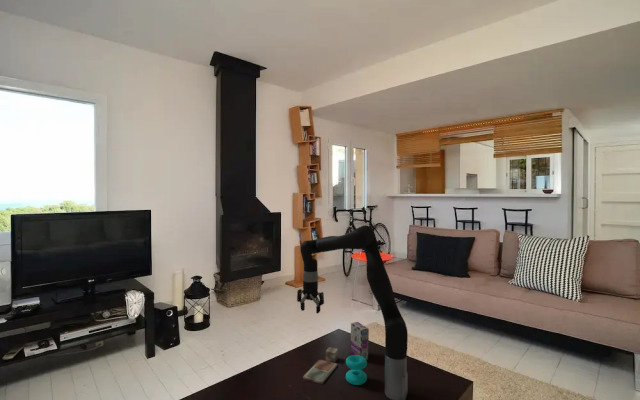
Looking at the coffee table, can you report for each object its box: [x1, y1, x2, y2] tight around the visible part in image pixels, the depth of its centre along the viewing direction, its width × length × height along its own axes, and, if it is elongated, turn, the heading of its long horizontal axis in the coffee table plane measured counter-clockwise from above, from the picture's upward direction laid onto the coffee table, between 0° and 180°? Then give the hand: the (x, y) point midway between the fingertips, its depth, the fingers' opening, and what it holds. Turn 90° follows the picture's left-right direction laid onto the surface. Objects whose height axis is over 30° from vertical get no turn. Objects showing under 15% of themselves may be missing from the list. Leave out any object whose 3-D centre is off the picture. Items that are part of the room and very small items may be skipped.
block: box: [325, 346, 339, 363], centre depth 169 cm, size 5×5×5 cm
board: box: [302, 359, 338, 385], centre depth 156 cm, size 10×18×1 cm, turn 155°
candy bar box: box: [350, 321, 370, 360], centre depth 173 cm, size 11×5×16 cm, turn 25°
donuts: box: [345, 354, 368, 386], centre depth 149 cm, size 10×10×10 cm
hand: (310, 311), depth 161 cm, fingers open, 8 cm apart
